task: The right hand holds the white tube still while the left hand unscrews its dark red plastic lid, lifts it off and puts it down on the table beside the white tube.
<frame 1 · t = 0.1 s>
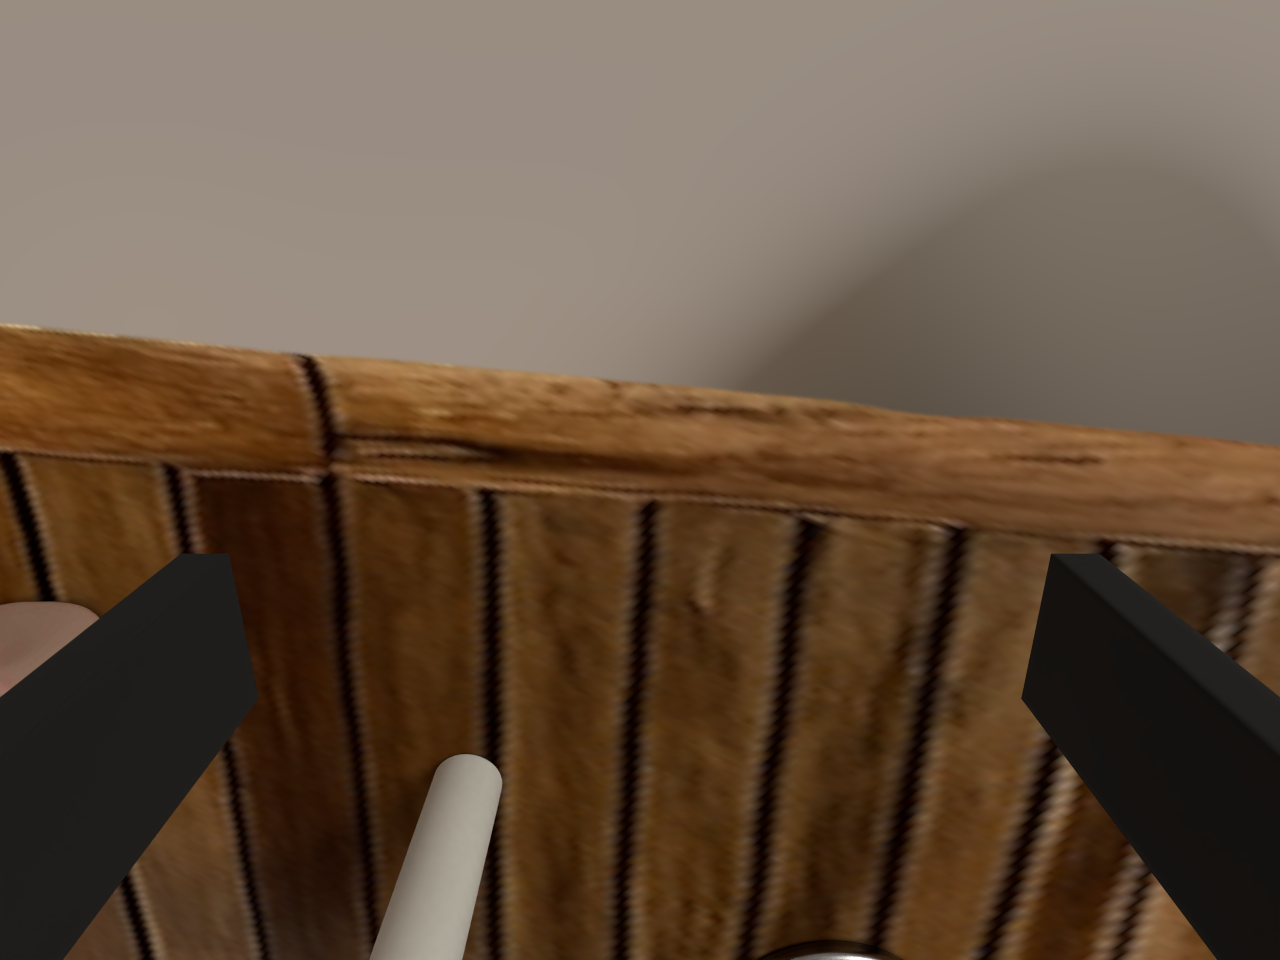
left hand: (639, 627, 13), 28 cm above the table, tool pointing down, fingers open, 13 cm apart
anatomical model: (42, 688, 46), on the table
white tube: (468, 781, 49), on the table
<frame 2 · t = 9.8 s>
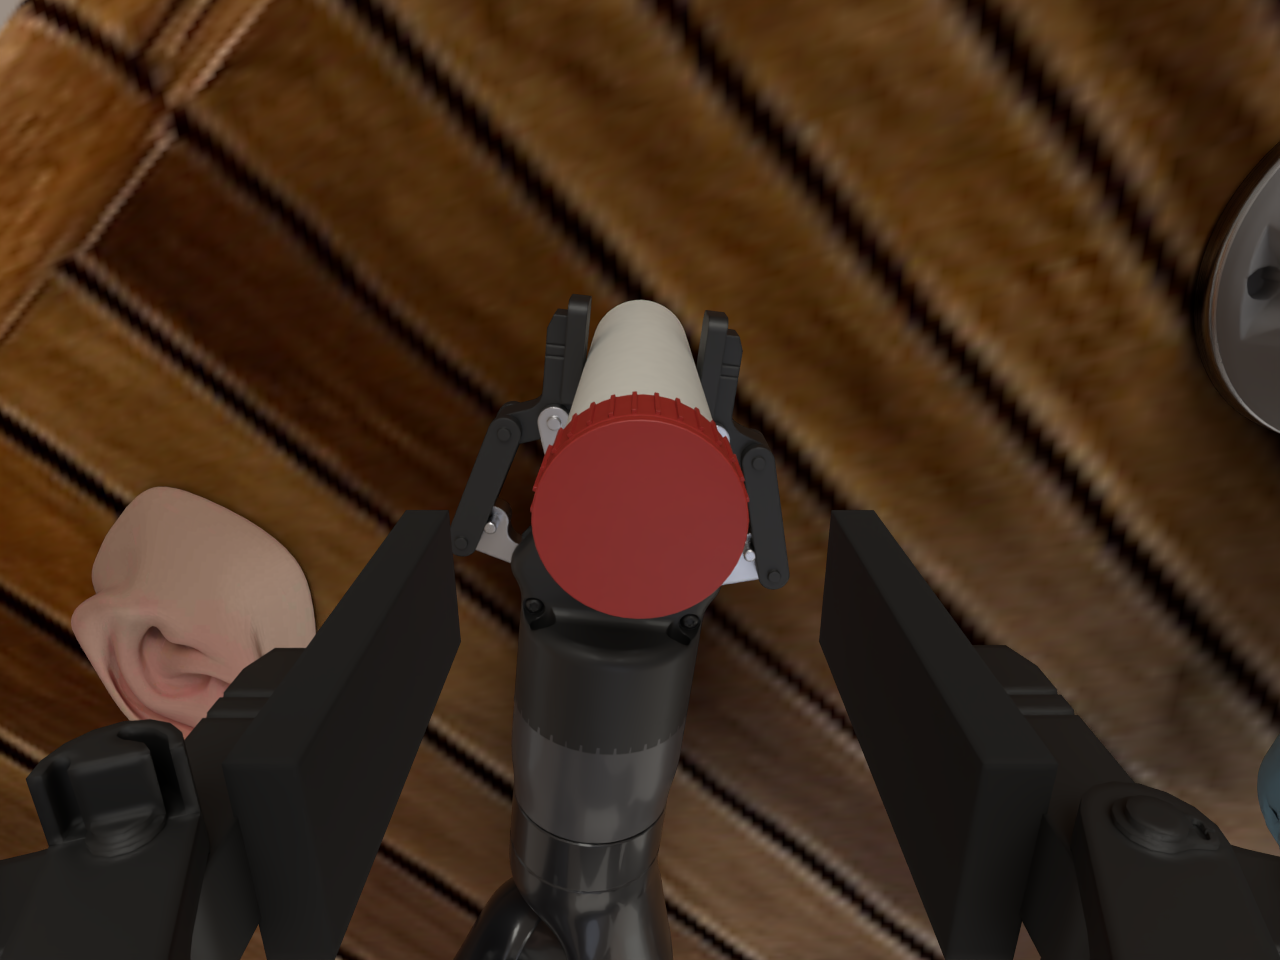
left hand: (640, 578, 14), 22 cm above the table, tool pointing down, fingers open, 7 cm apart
right hand: (647, 308, 28), fingers closed on white tube, 4 cm apart
anatomical model: (212, 612, 40), on the table
white tube: (639, 347, 35), on the table, touching right hand
lid: (640, 518, 17), point 19 cm above the table, screwed on, not yet turned
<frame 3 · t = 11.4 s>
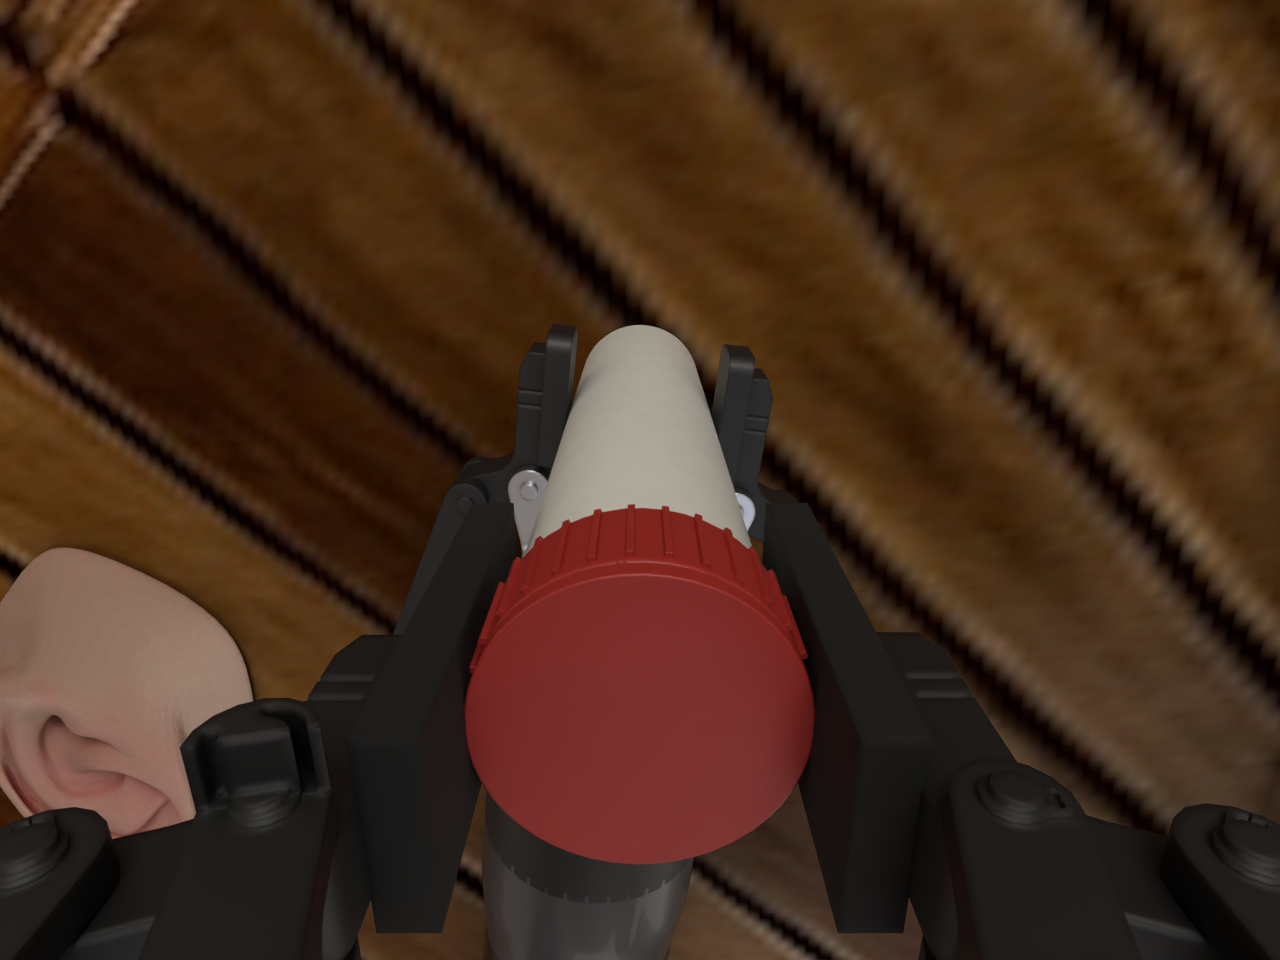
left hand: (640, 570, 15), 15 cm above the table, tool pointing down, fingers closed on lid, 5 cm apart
anatomical model: (131, 691, 34), on the table
white tube: (639, 382, 29), on the table, touching right hand
lid: (639, 714, 11), point 19 cm above the table, screwed on, not yet turned, touching left hand
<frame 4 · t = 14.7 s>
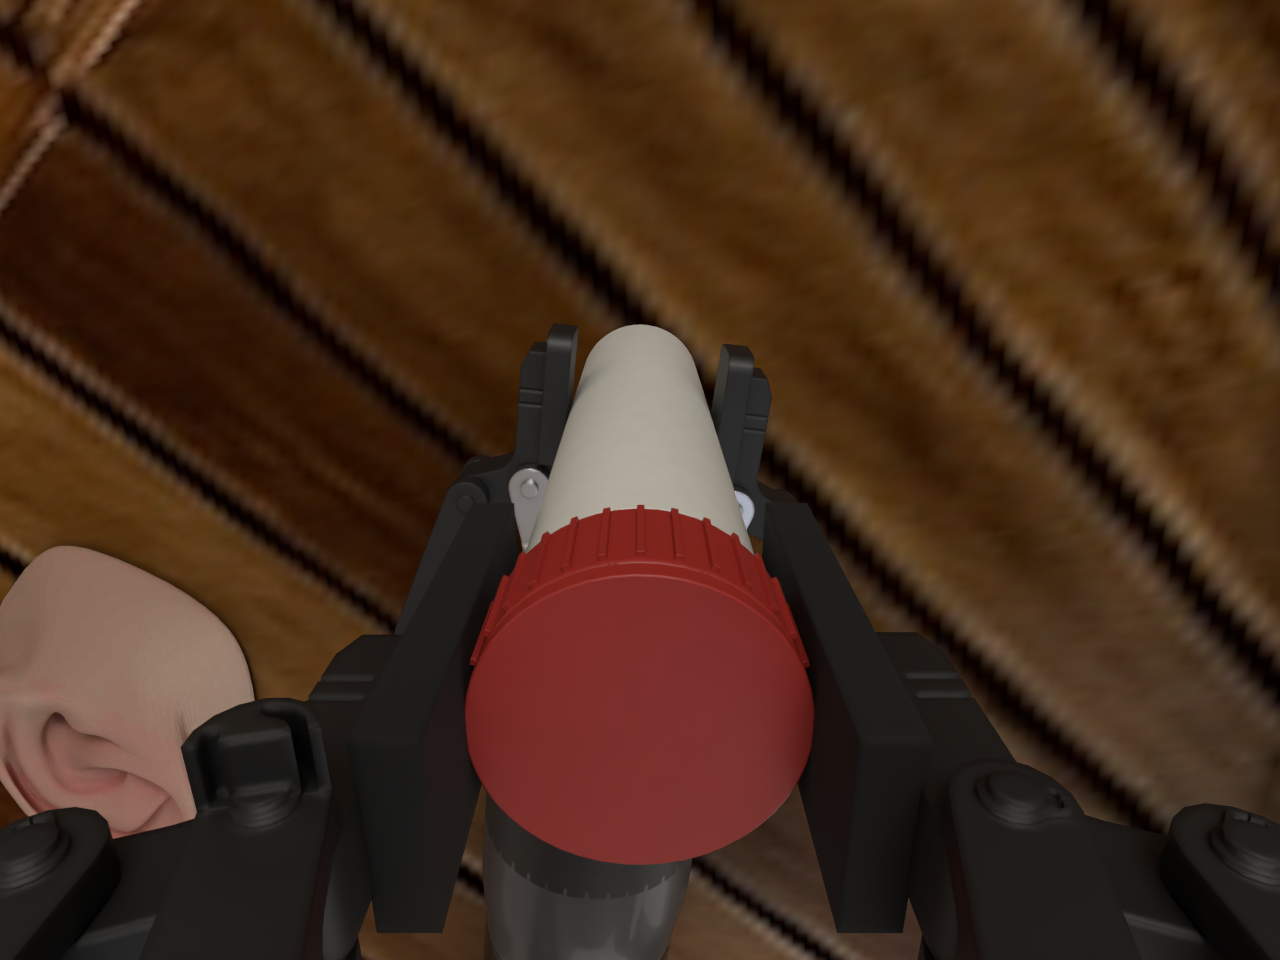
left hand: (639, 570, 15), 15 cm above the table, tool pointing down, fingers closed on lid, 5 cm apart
anatomical model: (133, 689, 34), on the table
white tube: (639, 381, 29), on the table, touching right hand
lid: (639, 715, 11), point 20 cm above the table, turned 93° so far, risen 0.1 cm, still on its thread, touching left hand
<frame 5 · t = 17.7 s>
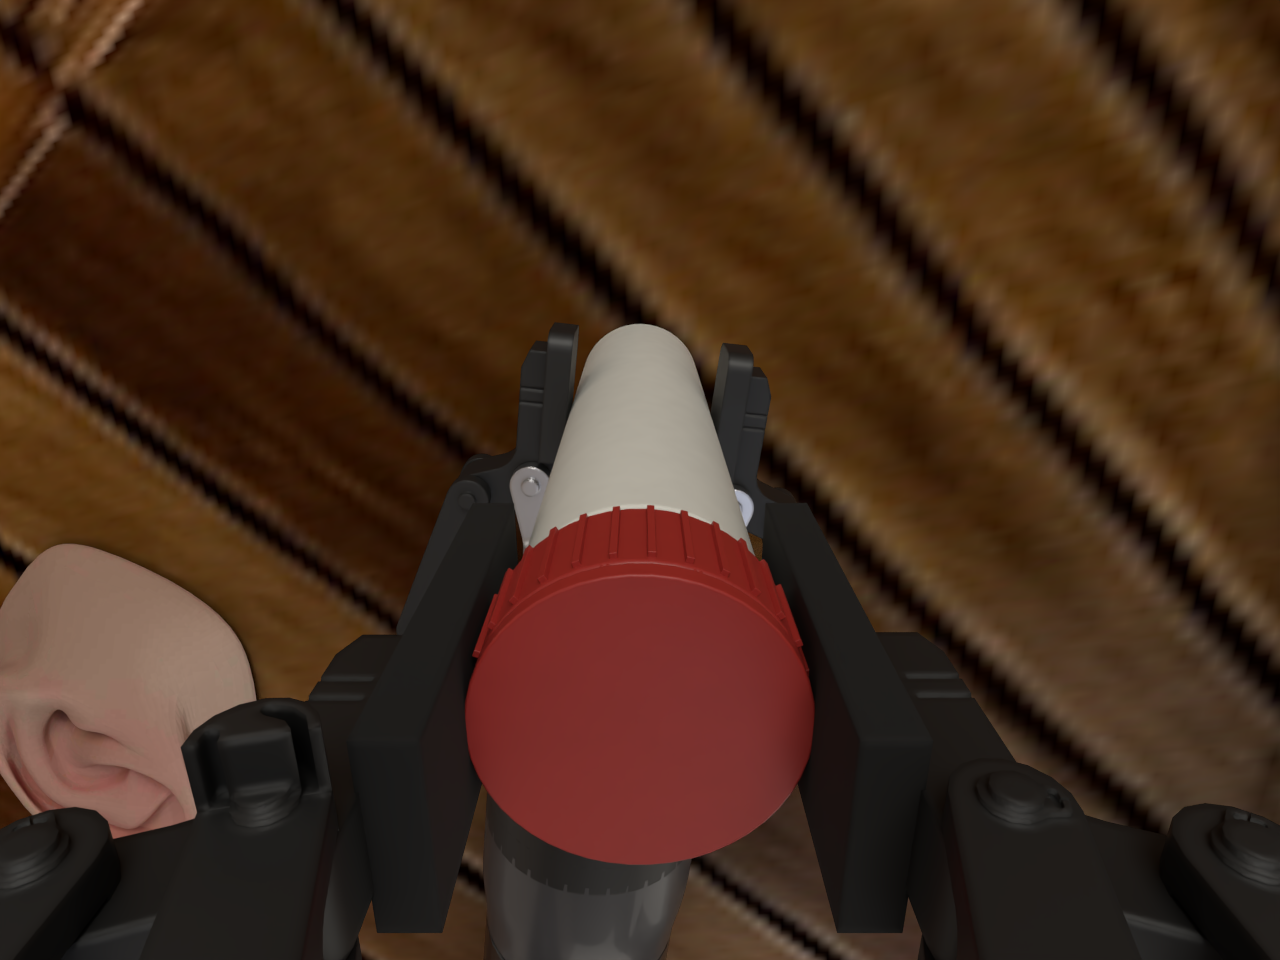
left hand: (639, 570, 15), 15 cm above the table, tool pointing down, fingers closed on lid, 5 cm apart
anatomical model: (135, 687, 34), on the table
white tube: (639, 380, 29), on the table, touching right hand
lid: (639, 715, 11), point 20 cm above the table, turned 185° so far, risen 0.3 cm, still on its thread, touching left hand
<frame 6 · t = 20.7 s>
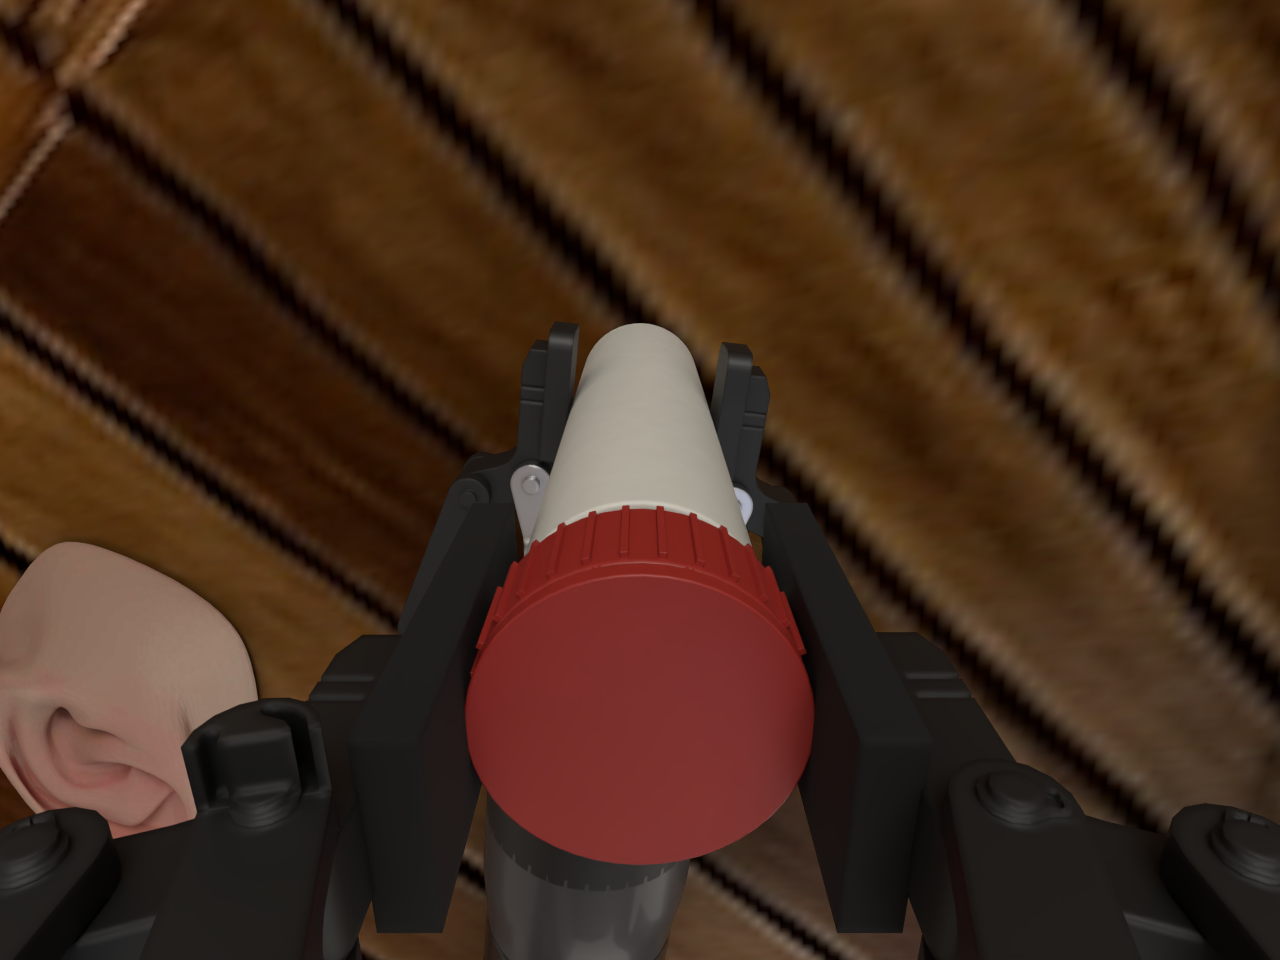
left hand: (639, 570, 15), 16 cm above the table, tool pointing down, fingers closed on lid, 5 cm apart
anatomical model: (136, 684, 34), on the table
white tube: (639, 380, 29), on the table, touching right hand
lid: (639, 715, 11), point 20 cm above the table, turned 278° so far, risen 0.4 cm, still on its thread, touching left hand
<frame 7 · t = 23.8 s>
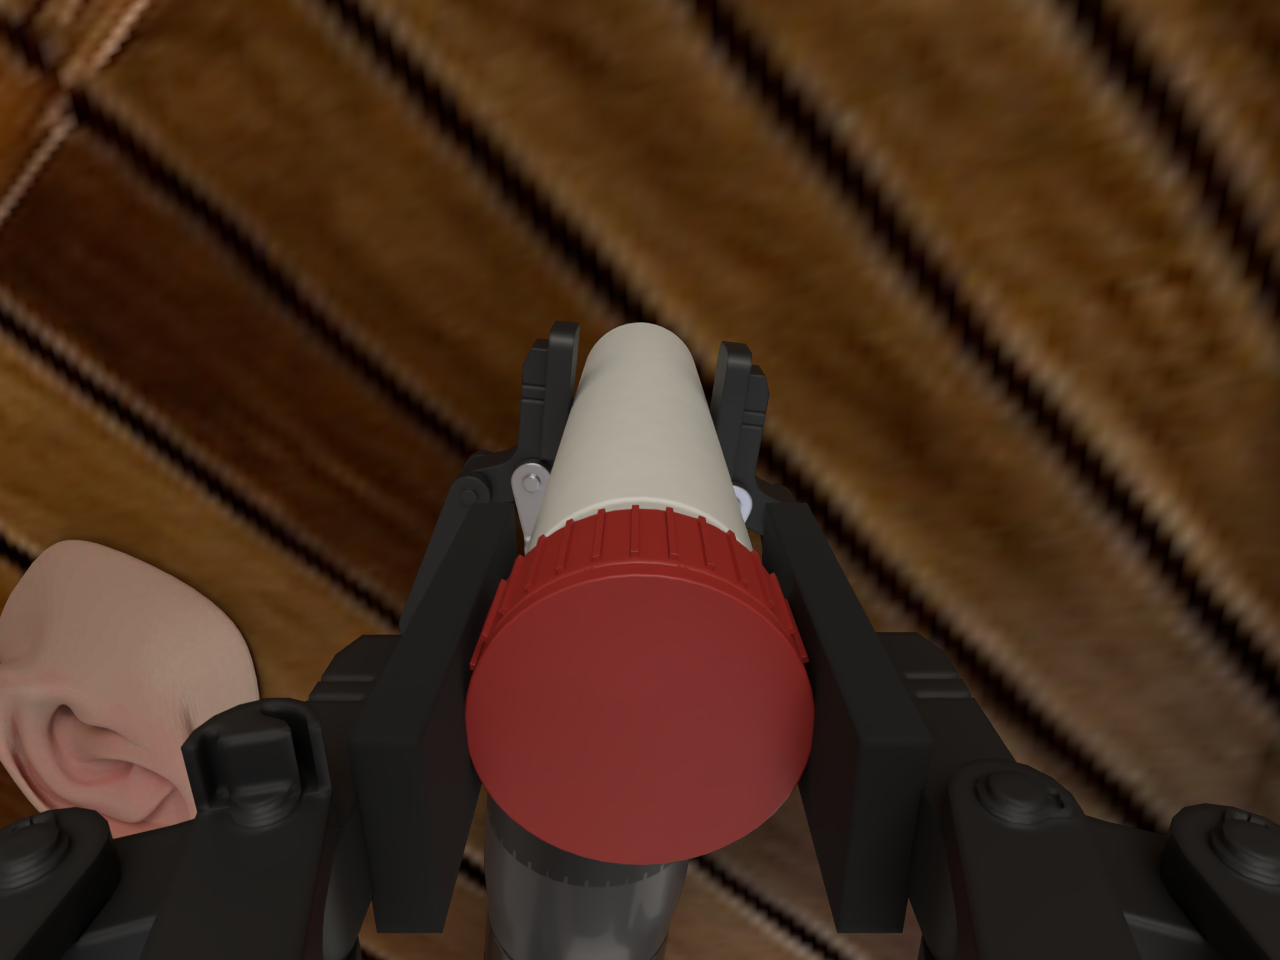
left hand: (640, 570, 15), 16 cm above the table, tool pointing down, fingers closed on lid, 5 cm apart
anatomical model: (138, 682, 34), on the table
white tube: (639, 379, 29), on the table, touching right hand
lid: (639, 715, 11), point 20 cm above the table, turned 371° so far, risen 0.6 cm, still on its thread, touching left hand
when the left hand's fingers open (0 cm above the table, at t = 35.6 s): lid drops 3 cm, point 2 cm above the table.
when the right hand's fingers open (7 cm above the table, at t = 36.1 s): white tube stays where it is, on the table.
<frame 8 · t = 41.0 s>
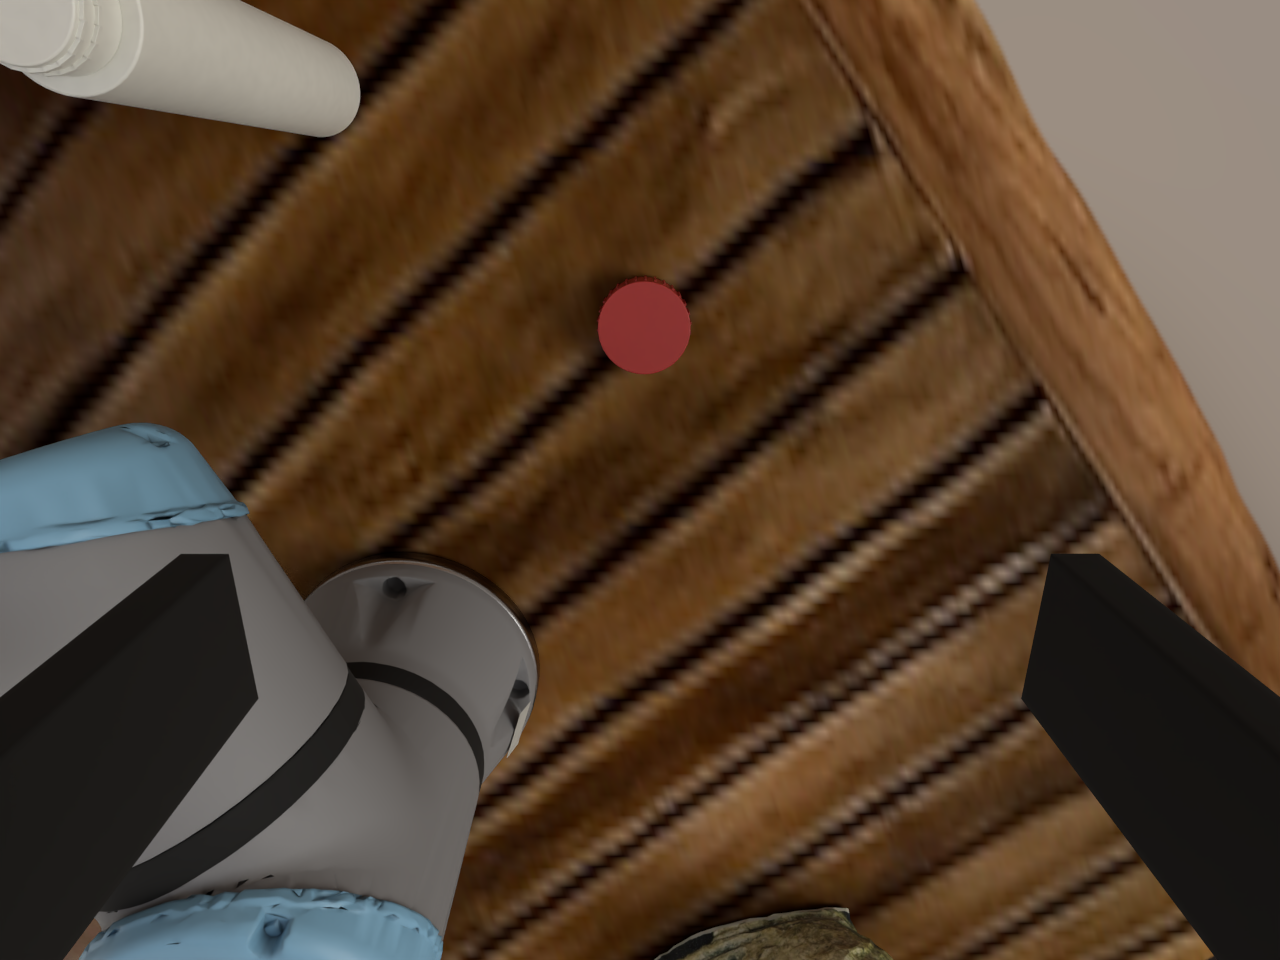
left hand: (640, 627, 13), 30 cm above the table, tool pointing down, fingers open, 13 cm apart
white tube: (315, 88, 37), on the table
fossil: (759, 948, 57), on the table
lid: (644, 327, 39), point 2 cm above the table, off its thread
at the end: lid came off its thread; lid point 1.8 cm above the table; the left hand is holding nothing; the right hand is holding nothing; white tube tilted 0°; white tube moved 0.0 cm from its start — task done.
